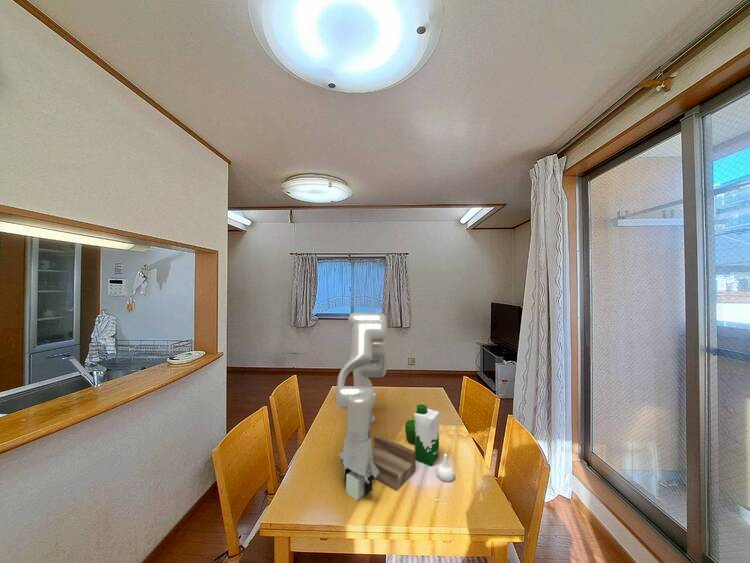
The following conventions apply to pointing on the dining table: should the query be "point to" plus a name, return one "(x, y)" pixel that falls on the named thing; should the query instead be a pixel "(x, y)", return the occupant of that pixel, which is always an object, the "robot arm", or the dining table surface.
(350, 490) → the cabinet
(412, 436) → the bell pepper
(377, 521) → the dining table surface
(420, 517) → the dining table surface
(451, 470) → the garlic bulb
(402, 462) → the shelf
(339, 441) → the dining table surface
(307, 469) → the dining table surface
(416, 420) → the milk carton
